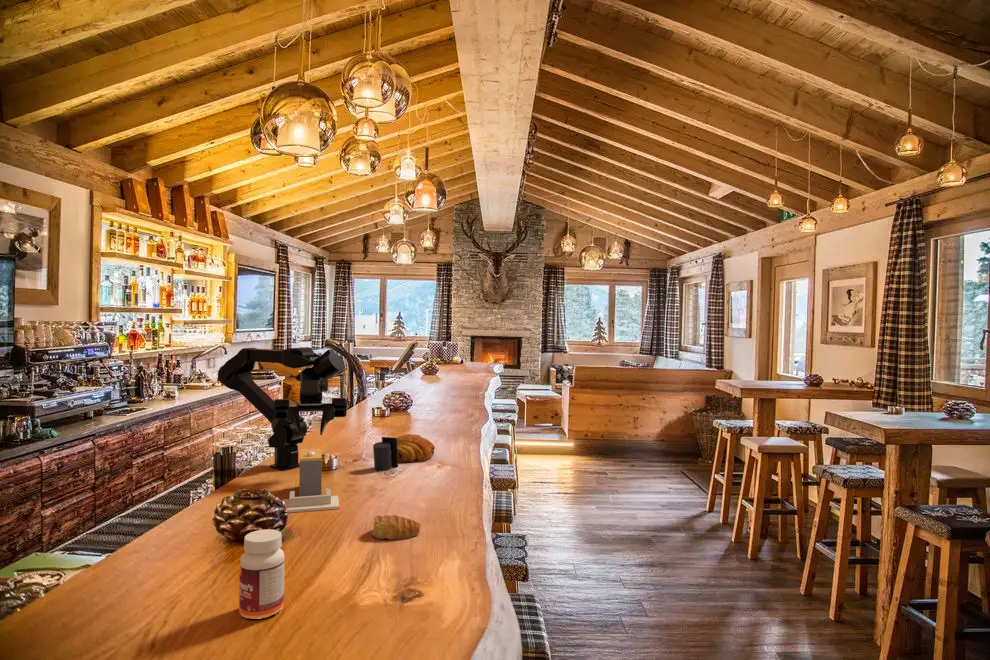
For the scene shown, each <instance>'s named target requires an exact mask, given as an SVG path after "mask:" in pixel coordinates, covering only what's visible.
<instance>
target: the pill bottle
mask: <svg viewBox="0 0 990 660" xmlns="http://www.w3.org/2000/svg"><path fill="white" fill-rule="evenodd" d="M282 539H283V538H282V532H281V531H280V530H276V529H269V528H268V529H258V530H255V531H254V530H253V531H252V532H249V533H247V534H246V535H245V536H244V539H243V541H244V542H243V550H244V553H243V554H242V555H241V556H240V559H239V582H238V583H239V584H238V585H239V592H238V593H239V595H238V596H239V597H238V599H239V600H238V602H239V603H238V605H239V606H238V608H239V610H238V611H239V614H240V613H241V614H242V615H243V616H246V617H253V618H255V617H256V618H258V617H263V616H268V615H270V614H273V613H276V612H278V611H279V610H281V609H282V610H283V608H284V606H283V605H285V552H284V551H283V549H281V547H282V544H283V542H282ZM282 610H281V611H282Z"/></svg>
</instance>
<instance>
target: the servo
mask: <svg viewBox="0 0 990 660" xmlns="http://www.w3.org/2000/svg"><path fill="white" fill-rule="evenodd" d="M299 450H300V451H299V463H300V466H299V484H298V485H299V491H298V492H299V493H298V494H299V495H298V497H302V496H316V495H322V478H323V477H322V472H323V471H322V469H323V468H322V464H323V463H322V461H323V459H322V458H323V457H322V448H320V447H319V448H303V449H299Z"/></svg>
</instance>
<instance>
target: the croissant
mask: <svg viewBox="0 0 990 660" xmlns="http://www.w3.org/2000/svg"><path fill="white" fill-rule="evenodd" d="M396 438H397V451H398V463H405V462H407V463H409V462H411V463H413V462H415V463H417V462H419V463H420V462H421V463H422V462H424V461H428V460H429V459H431V458H432V457H433V456H434V455H435V449H436V447H435V445H434V443H432V442H431V441H430V440H429V439H427V438H425V437H422V436H421V435H419V434H409V433H408V434H403V435H399V436H398V437H396Z"/></svg>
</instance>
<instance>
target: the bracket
mask: <svg viewBox="0 0 990 660" xmlns="http://www.w3.org/2000/svg"><path fill="white" fill-rule="evenodd" d="M331 492H332V491H331V488H330V487H329V488H327V487H326V488H325V494H321V495H316V496H302V497H299V496H295V495H296V491H295V490H290V491H289V498H285V499H282V500H283V501H284V502H285V504H286V508H287V511H288V513H291V514H292V513H301V512H302V513H304V512H314V511H315V512H316V511H329V510H338V509H340V501H339V495H332V493H331ZM288 513H287V514H288Z"/></svg>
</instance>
